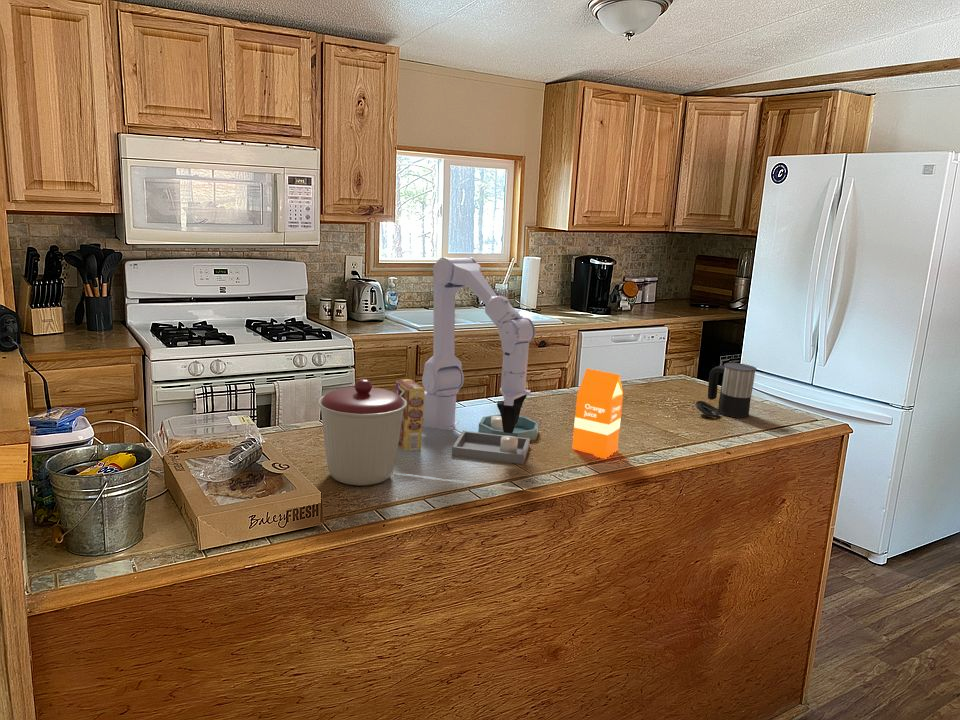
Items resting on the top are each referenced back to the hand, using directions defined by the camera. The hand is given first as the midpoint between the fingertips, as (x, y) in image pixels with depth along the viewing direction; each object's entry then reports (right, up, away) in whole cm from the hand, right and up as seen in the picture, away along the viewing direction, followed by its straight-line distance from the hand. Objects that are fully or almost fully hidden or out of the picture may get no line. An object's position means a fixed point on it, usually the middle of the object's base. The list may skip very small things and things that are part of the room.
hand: (510, 427), depth 171 cm
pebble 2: (0, -6, +1) cm, 6 cm away
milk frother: (+65, -1, +47) cm, 80 cm away
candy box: (-24, -5, +3) cm, 25 cm away
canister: (-32, -9, -17) cm, 38 cm away
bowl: (0, -3, +16) cm, 17 cm away
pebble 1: (-3, -3, +17) cm, 17 cm away
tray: (-4, -6, +2) cm, 8 cm away
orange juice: (+21, -7, +8) cm, 23 cm away
